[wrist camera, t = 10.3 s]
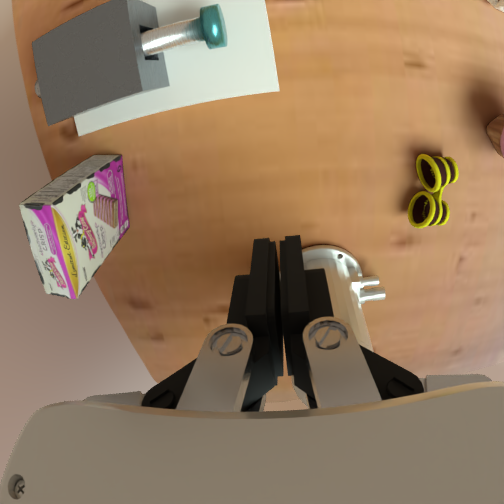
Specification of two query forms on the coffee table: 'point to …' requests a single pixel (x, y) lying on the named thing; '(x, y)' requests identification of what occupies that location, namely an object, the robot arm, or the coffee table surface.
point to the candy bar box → (76, 223)
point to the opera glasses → (434, 180)
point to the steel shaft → (184, 34)
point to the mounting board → (201, 64)
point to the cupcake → (497, 134)
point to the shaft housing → (97, 60)
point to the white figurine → (497, 4)
